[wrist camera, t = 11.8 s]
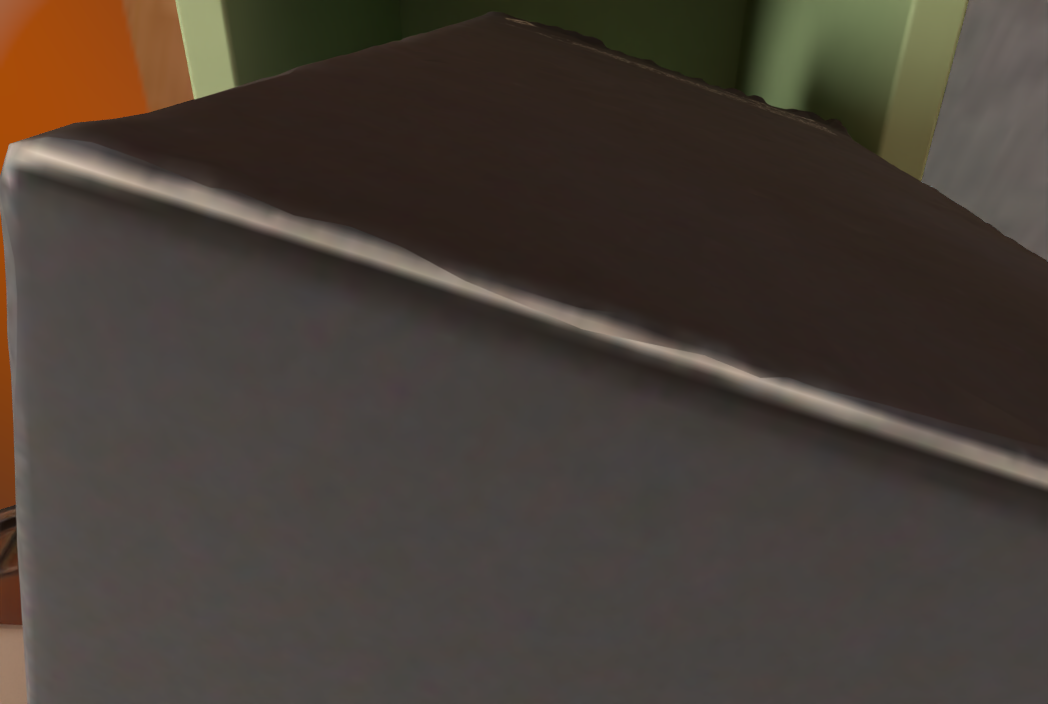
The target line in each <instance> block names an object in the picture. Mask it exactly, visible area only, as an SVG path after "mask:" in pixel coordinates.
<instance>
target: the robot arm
mask: <svg viewBox="0 0 1048 704" xmlns="http://www.w3.org/2000/svg"><path fill="white" fill-rule="evenodd" d="M0 704H27V689H26V672H25V656H24V641H23V626H22V610H21V595H20V579H19V564H18V548H17V521H16V505H14V506H11V507H7V508H5V509H1V510H0Z"/></svg>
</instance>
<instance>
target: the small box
mask: <svg viewBox="0 0 1048 704" xmlns="http://www.w3.org/2000/svg"><path fill="white" fill-rule="evenodd" d="M0 211H1V220H2V231H3V241H4V254H5V270H6V286H7V334H8V346H9V356H10V366H11V380H12V398H13V399H12V401H13V420H14V452H15V487H16V521H17V548H18V564H19V579H20V595H21V610H22V626H23V641H24V656H25V672H26V689H27V704H1048V262H1047V261H1046V260H1044V259H1043V258H1041V257H1040V256H1038V255H1037V254H1035V253H1033V252H1031V251H1029V250H1027V249H1026V248H1024V247H1023V246H1021V245H1020V244H1018V243H1017V242H1016V241H1014V240H1013V239H1011V238H1009V237H1006V236H1004V235H1003V234H1002V233H1001V232H999V231H998V230H997V229H996V228H994V227H993V226H992V225H990V224H988V223H985V222H984V221H983V220H981V219H980V218H978V217H977V216H975V215H974V214H973V213H971V212H970V211H968V210H967V209H966V208H964V207H962V206H961V205H959V204H957V203H955V202H954V201H952V200H950V199H949V198H947V197H946V196H944V195H943V194H941V193H940V192H939V191H937V190H936V189H935V188H933V187H931V186H928V185H926V184H924V183H923V182H921V181H919V180H918V179H916V178H914V177H913V176H911V175H909V174H908V173H906V172H904V171H902V170H900V169H899V168H897V167H896V166H894V165H892V164H890V163H889V162H887V161H886V160H884V159H883V158H881V157H880V156H878V155H876V154H875V153H873V152H871V151H870V150H868V149H866V148H865V147H863V146H862V145H860V144H859V143H857V142H855V141H854V140H853V139H852V138H851V136H850V135H849V134H848V132H847V129H846V128H845V127H844V126H842V123H841V122H840V121H839V120H838V119H829V120H826V121H825V120H824V119H823V118H821V117H820V116H818V115H817V114H815V113H813V112H809V111H801V110H797V109H783V108H778V107H774V106H771V105H769V104H767V103H766V102H765V100H764V99H763V98H762V97H759V96H757V95H751V96H746V95H745V94H744V93H743V92H742V91H740V90H738V89H735V88H726V89H723V88H721V87H719V86H716V85H709V84H707V83H706V82H705V81H704V80H703V79H702V78H692V77H688V76H684V75H683V74H681V73H680V72H677V71H672V70H669V69H666V68H664V67H661V66H659V65H658V64H656V63H655V62H653V61H652V60H648V59H640V58H637V57H633V56H629V55H626V54H624V53H623V52H621V51H616V50H611V49H609V48H607V47H606V46H605V44H604V43H603V42H602V41H601V40H599V39H597V38H595V37H591V36H584V35H582V34H580V33H578V32H576V31H570V30H564V29H562V28H560V27H558V26H548V25H545V24H542V23H539V22H529V21H526V20H523V19H519V18H515V17H513V16H510V15H508V14H506V13H503V12H495V11H493V12H488V13H487V14H485V15H482V16H479V17H475V18H474V19H471V20H467V21H464V22H460V23H457V24H452V25H449V26H446V27H443V28H440V29H436V30H433V31H430V32H427V33H420V34H418V35H416V36H410V37H406V38H404V39H402V40H400V41H392V42H389V43H386V44H383V45H380V46H377V45H376V46H373V47H370V48H367V49H364V50H361V51H357V52H354V53H351V54H347V55H340V56H336V57H333V58H330V59H327V60H323V61H319V62H315V63H311V64H307V65H303V66H299V67H296V68H294V69H291V70H289V71H286V72H284V73H281V74H279V75H277V76H273V77H267V78H262V79H259V80H256V81H253V82H250V83H247V84H243V85H240V86H237V87H234V88H231V89H228V90H224V91H221V92H218V93H215V94H211V95H208V96H205V97H202V98H198V99H194V100H190V101H187V102H184V103H180V104H177V105H173V106H170V107H167V108H163V109H160V110H157V111H153V112H150V113H145V114H140V115H134V116H129V117H123V118H117V119H110V120H100V121H89V122H80V123H73V124H70V125H67V126H64V127H61V128H58V129H55V130H52V131H49V132H45V133H42V134H39V135H36V136H33V137H30V138H27V139H24V140H21V141H18V142H15V143H11V144H9V147H8V151H7V154H6V158H5V162H4V165H3V168H2V172H1V175H0Z"/></svg>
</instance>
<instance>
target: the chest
mask: <svg viewBox="0 0 1048 704" xmlns="http://www.w3.org/2000/svg"><path fill="white" fill-rule="evenodd" d="M175 1H176V6H177V11H178V16H179V22H180V27H181V32H182V37H183V42H184V48H185V53H186V58H187V63H188V69H189V74H190V79H191V84H192V90H193V95H194V99H198V98H202V97H205V96H208V95H211V94H215V93H218V92H221V91H224V90H228V89H231V88H234V87H237V86H240V85H243V84H247V83H250V82H253V81H256V80H259V79H262V78H267V77H273V76H277V75H279V74H281V73H284V72H286V71H289V70H291V69H294V68H296V67H299V66H303V65H307V64H311V63H315V62H319V61H323V60H327V59H330V58H333V57H336V56H340V55H347V54H351V53H354V52H357V51H361V50H364V49H367V48H370V47H373V46H376V45H377V46H380V45H383V44H386V43H389V42H392V41H400V40H402V39H404V38H406V37H410V36H416V35H418V34H420V33H427V32H430V31H433V30H436V29H440V28H443V27H446V26H449V25H452V24H457V23H460V22H464V21H467V20H471V19H474V18H475V17H479V16H482V15H485V14H487V13H488V12H493V11H495V12H503V13H506V14H508V15H510V16H513V17H515V18H519V19H523V20H526V21H529V22H539V23H542V24H545V25H548V26H558V27H560V28H562V29H564V30H570V31H576V32H578V33H580V34H582V35H584V36H591V37H595V38H597V39H599V40H601V41H602V42H603V43H604V44H605V46H606V47H607V48H609V49H611V50H616V51H621V52H623V53H624V54H626V55H629V56H633V57H637V58H640V59H648V60H652V61H653V62H655V63H656V64H658V65H659V66H661V67H664V68H666V69H669V70H672V71H677V72H680V73H681V74H683V75H684V76H688V77H692V78H702V79H703V80H704V81H705V82H706V83H707V84H709V85H716V86H719V87H721V88H723V89H726V88H735V89H738V90H740V91H742V92H743V93H744V94H745V95H746V96H751V95H757V96H759V97H762V98H763V99H764V100H765V102H766V103H767V104H769V105H771V106H774V107H778V108H783V109H797V110H801V111H809V112H813V113H815V114H817V115H818V116H820V117H821V118H823V119H824V120H825V121H826V120H829V119H838V120H839V121H840V122H841V123H842V126H844V127H845V128H846V129H847V132H848V134H849V135H850V136H851V138H852V139H853V140H854V141H855V142H857V143H859V144H860V145H862V146H863V147H865V148H866V149H868V150H870V151H871V152H873V153H875V154H876V155H878V156H880V157H881V158H883V159H884V160H886V161H887V162H889V163H890V164H892V165H894V166H896V167H897V168H899V169H900V170H902V171H904V172H906V173H908V174H909V175H911V176H913V177H914V178H916V179H918V180H919V181H921V180H922V176H923V173H924V169H925V165H926V161H927V157H928V154H929V150H930V146H931V142H932V138H933V135H934V131H935V127H936V123H937V119H938V116H939V112H940V108H941V104H942V100H943V97H944V93H945V89H946V85H947V82H948V78H949V74H950V70H951V66H952V63H953V59H954V55H955V51H956V47H957V44H958V40H959V36H960V32H961V28H962V25H963V21H964V17H965V13H966V9H967V6H968V2H969V0H175Z"/></svg>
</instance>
